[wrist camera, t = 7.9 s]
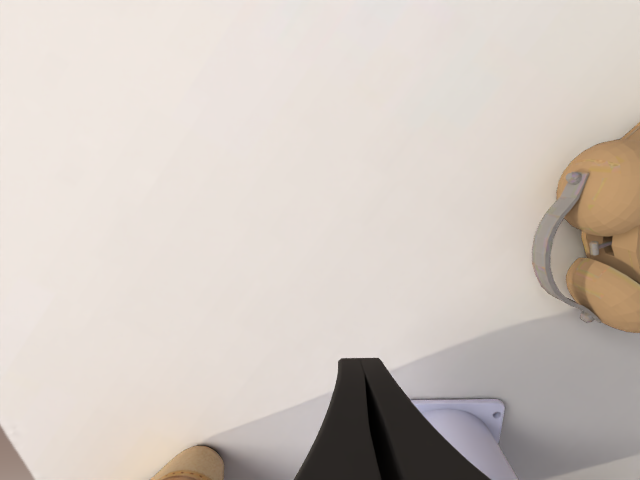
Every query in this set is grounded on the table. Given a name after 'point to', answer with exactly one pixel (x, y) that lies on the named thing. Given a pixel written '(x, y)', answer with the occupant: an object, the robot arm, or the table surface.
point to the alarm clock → (599, 233)
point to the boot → (193, 466)
